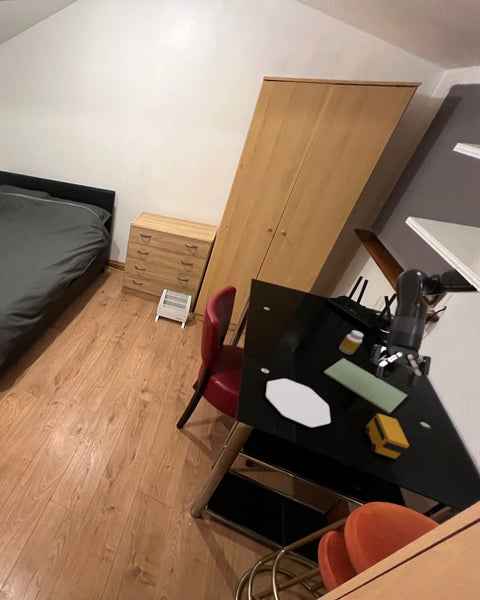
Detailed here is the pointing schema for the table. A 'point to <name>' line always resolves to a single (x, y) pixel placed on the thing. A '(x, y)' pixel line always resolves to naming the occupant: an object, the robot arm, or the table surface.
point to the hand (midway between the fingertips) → (394, 382)
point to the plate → (298, 402)
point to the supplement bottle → (351, 342)
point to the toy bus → (386, 436)
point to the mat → (366, 385)
